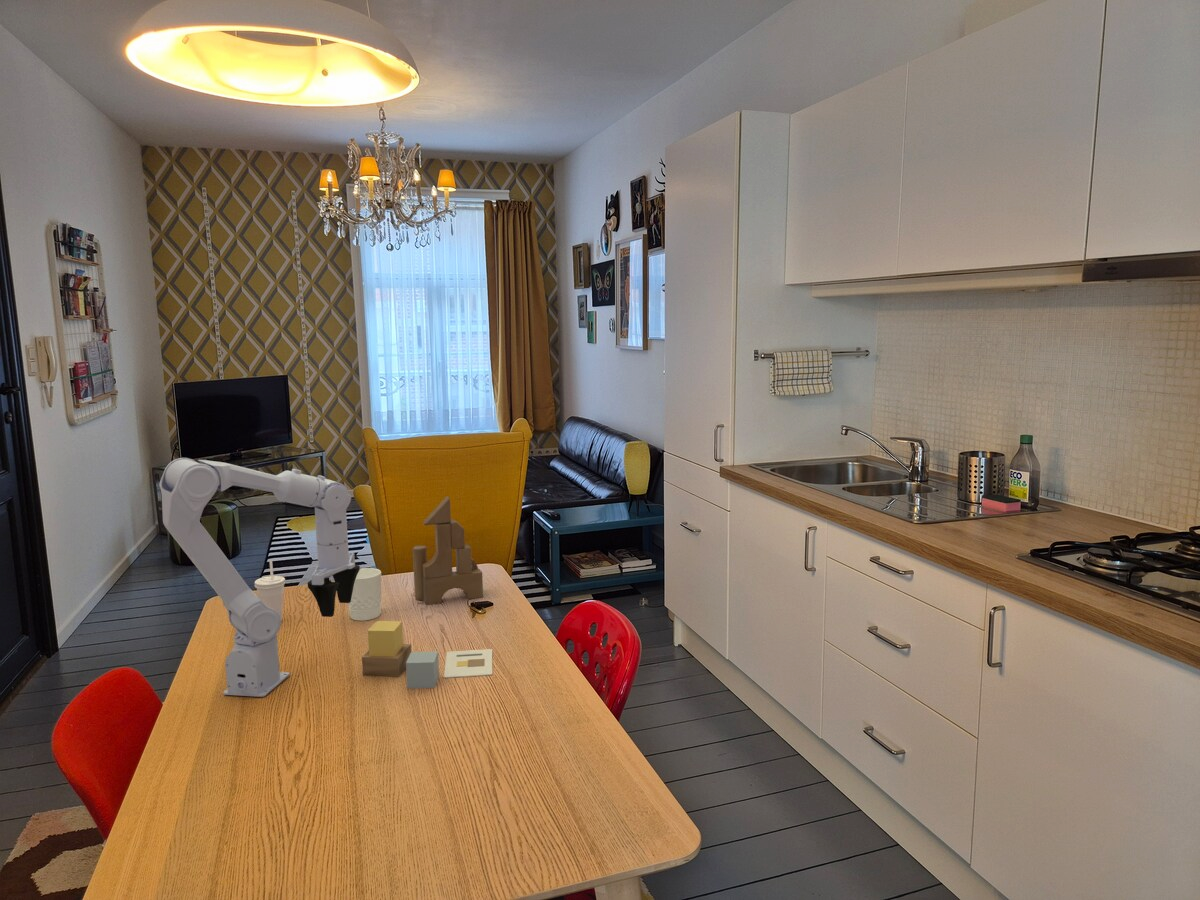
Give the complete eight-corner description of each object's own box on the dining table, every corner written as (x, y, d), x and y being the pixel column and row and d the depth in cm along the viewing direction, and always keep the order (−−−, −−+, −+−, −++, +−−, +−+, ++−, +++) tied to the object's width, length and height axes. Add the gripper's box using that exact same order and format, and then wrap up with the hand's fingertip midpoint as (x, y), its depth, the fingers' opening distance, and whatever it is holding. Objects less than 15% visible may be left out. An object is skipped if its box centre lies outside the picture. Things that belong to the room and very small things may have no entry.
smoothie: (281, 627, 180) (276, 565, 178) (252, 627, 180) (247, 565, 178) (292, 616, 186) (288, 556, 184) (264, 616, 186) (260, 557, 184)
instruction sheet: (492, 675, 154) (492, 673, 154) (443, 678, 153) (443, 676, 153) (492, 649, 166) (492, 648, 166) (447, 652, 165) (447, 651, 165)
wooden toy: (476, 589, 204) (473, 490, 200) (483, 597, 198) (480, 496, 194) (413, 597, 198) (409, 496, 194) (418, 606, 192) (413, 501, 188)
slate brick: (435, 688, 149) (433, 662, 149) (407, 689, 149) (405, 663, 148) (439, 676, 154) (438, 651, 154) (412, 677, 154) (411, 652, 153)
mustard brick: (395, 656, 154) (394, 631, 154) (369, 656, 155) (367, 630, 154) (403, 645, 159) (401, 621, 158) (377, 645, 160) (376, 620, 159)
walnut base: (398, 678, 154) (397, 658, 153) (363, 677, 155) (361, 657, 154) (412, 663, 161) (411, 644, 160) (377, 662, 162) (376, 642, 161)
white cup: (340, 620, 184) (337, 576, 182) (360, 608, 191) (357, 566, 190) (371, 623, 181) (368, 579, 180) (389, 611, 189) (387, 569, 187)
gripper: (335, 552, 151) (339, 623, 153) (367, 532, 165) (371, 597, 167) (299, 551, 152) (303, 621, 154) (334, 531, 166) (338, 596, 168)
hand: (336, 609), depth 161 cm, fingers open, 7 cm apart
